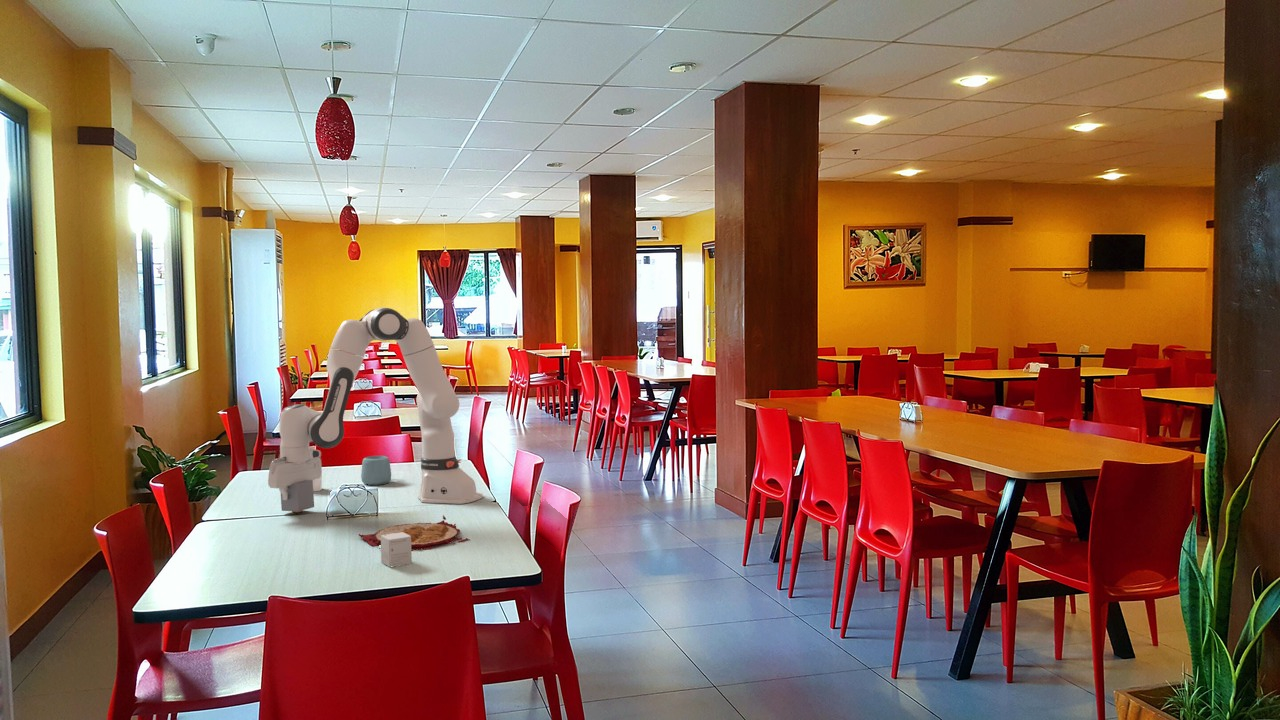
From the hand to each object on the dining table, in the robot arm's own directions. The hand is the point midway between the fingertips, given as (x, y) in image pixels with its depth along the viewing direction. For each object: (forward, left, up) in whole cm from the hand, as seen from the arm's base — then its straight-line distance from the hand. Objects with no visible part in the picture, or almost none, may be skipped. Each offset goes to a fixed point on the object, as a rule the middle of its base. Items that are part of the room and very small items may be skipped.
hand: (295, 497), depth 287 cm
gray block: (-1, 0, -4) cm, 4 cm away
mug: (+8, -51, -5) cm, 52 cm away
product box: (-67, +36, -5) cm, 76 cm away
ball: (0, 0, -3) cm, 3 cm away
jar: (+22, -30, -5) cm, 38 cm away
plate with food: (-58, +14, -6) cm, 60 cm away
